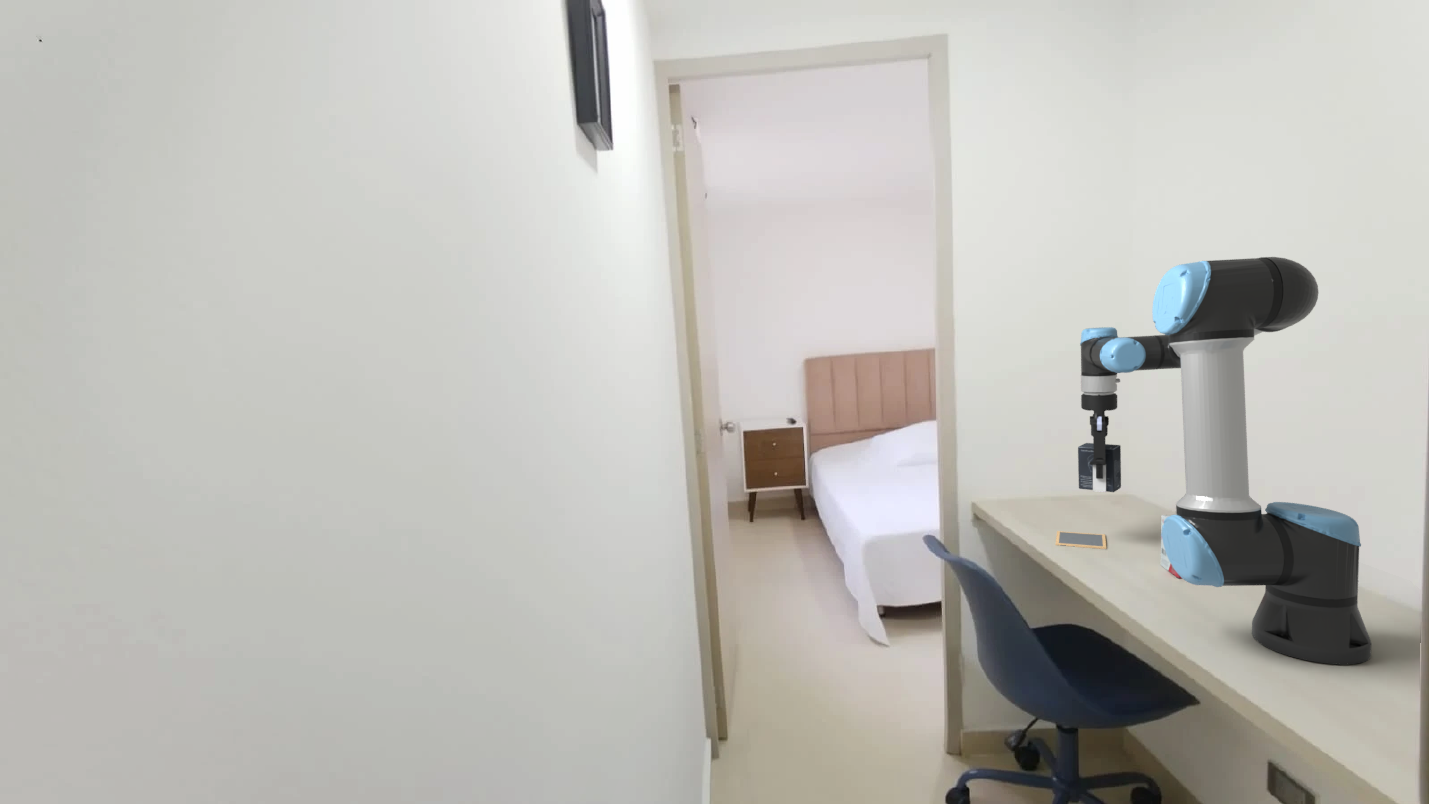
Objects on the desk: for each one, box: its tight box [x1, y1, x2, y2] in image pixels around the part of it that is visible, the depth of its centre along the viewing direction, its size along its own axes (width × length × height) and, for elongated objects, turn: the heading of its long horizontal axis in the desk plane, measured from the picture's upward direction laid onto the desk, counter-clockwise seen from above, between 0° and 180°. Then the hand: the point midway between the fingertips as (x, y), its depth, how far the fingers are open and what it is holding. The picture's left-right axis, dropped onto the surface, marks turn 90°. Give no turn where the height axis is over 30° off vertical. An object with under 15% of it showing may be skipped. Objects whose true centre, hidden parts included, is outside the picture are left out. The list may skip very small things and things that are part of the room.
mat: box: [1055, 530, 1107, 550], centre depth 175 cm, size 11×11×1 cm
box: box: [1077, 442, 1122, 493], centre depth 167 cm, size 8×6×11 cm
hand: (1099, 487), depth 168 cm, fingers closed on box, 7 cm apart
